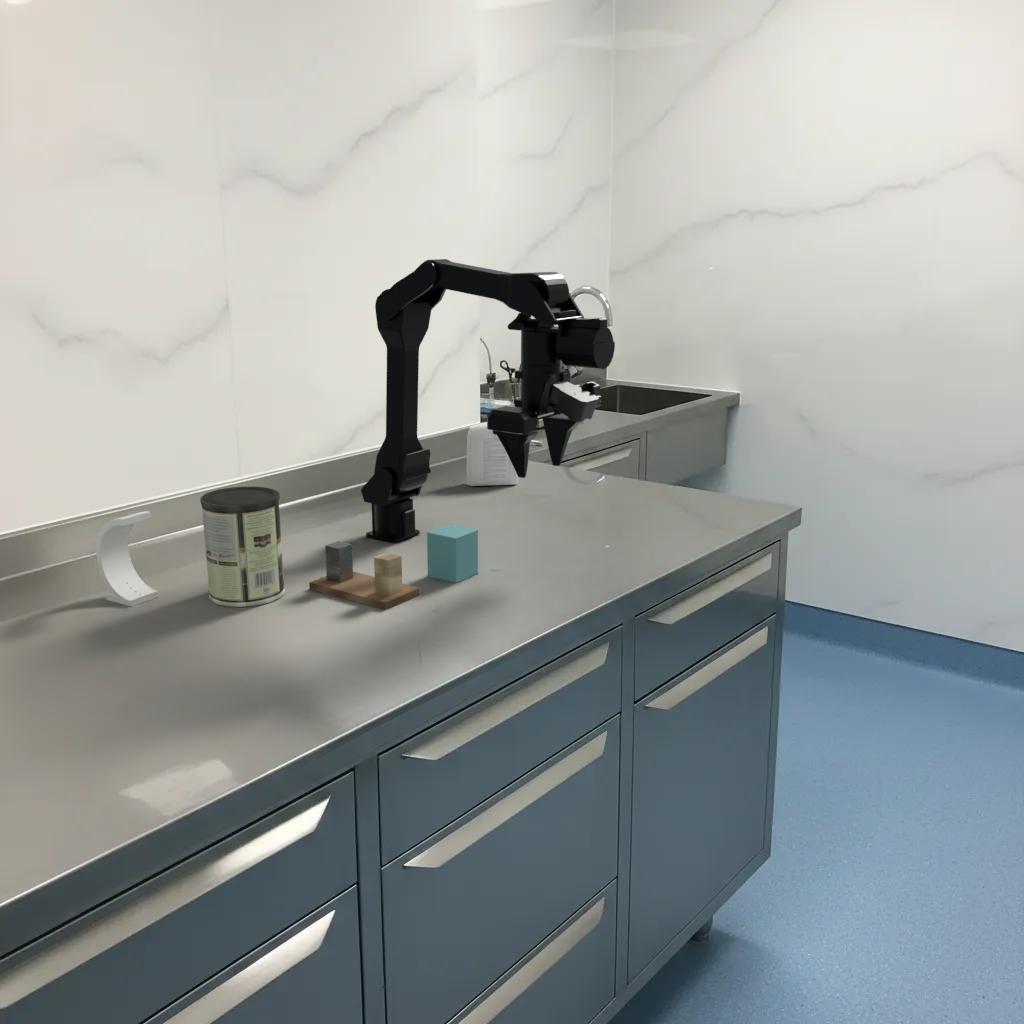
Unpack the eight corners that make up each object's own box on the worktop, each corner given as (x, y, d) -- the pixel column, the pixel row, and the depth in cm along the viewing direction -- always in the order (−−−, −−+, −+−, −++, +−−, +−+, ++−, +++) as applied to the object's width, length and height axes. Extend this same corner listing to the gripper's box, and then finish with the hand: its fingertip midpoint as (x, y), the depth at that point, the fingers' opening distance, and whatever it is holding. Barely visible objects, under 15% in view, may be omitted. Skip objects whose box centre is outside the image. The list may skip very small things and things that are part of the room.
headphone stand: (130, 606, 139) (122, 519, 136) (100, 598, 142) (91, 513, 139) (158, 596, 143) (150, 511, 139) (128, 588, 146) (120, 505, 142)
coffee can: (235, 578, 150) (229, 483, 146) (298, 587, 147) (294, 489, 143) (192, 602, 141) (183, 500, 137) (258, 611, 137) (252, 508, 134)
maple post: (375, 592, 142) (373, 557, 140) (387, 587, 144) (386, 552, 142) (389, 596, 140) (388, 560, 139) (402, 590, 142) (401, 555, 141)
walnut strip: (309, 589, 146) (309, 582, 146) (344, 575, 151) (344, 569, 151) (385, 609, 138) (385, 602, 138) (419, 594, 144) (419, 588, 143)
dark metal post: (326, 579, 147) (325, 545, 145) (339, 574, 149) (338, 541, 147) (340, 583, 145) (338, 548, 144) (353, 578, 147) (351, 544, 146)
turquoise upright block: (427, 576, 151) (427, 532, 150) (449, 566, 156) (449, 524, 154) (456, 582, 149) (455, 538, 147) (477, 573, 153) (477, 530, 151)
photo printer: (516, 480, 208) (516, 419, 205) (520, 485, 204) (521, 423, 201) (465, 482, 206) (464, 420, 203) (468, 488, 202) (468, 425, 199)
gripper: (554, 375, 136) (552, 492, 140) (623, 361, 151) (619, 467, 155) (484, 368, 142) (484, 480, 146) (557, 355, 157) (555, 457, 161)
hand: (539, 471), depth 152 cm, fingers open, 9 cm apart
